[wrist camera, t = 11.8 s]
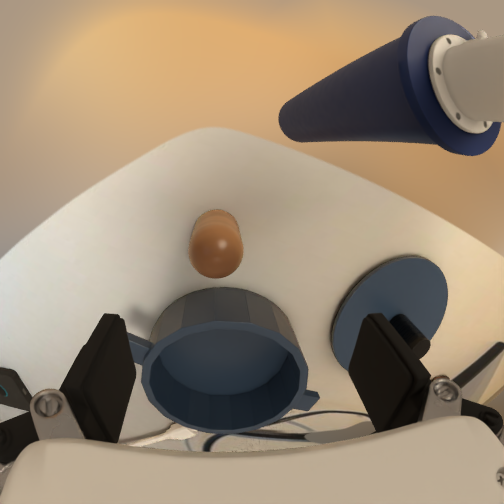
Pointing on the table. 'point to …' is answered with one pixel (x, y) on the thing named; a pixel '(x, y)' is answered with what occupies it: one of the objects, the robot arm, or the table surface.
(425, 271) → the lid
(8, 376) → the smart home device
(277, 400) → the pot
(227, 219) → the brown domed cylinder
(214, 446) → the table surface
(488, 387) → the table surface
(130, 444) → the charging cable
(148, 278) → the table surface
